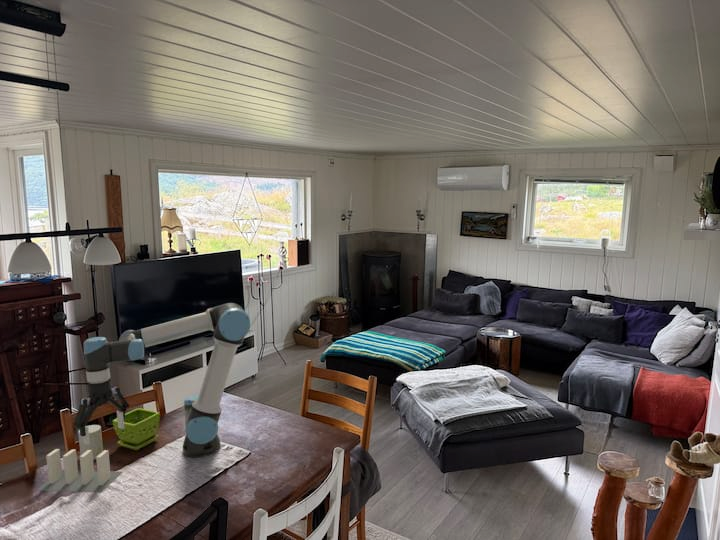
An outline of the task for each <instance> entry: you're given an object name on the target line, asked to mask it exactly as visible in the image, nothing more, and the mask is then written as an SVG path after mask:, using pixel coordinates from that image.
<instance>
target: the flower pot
mask: <svg viewBox="0 0 720 540" xmlns="http://www.w3.org/2000/svg"><path fill="white" fill-rule="evenodd" d="M160 419H161V414H160V412H158V411H156V410H155V411H154V410H151V409H146V408H141V407H140V408H139V407H138V408H135V409H133V410H131V411H129V412H126V413H125V419H124V429H121V428H118V420H117V417H116V418H115V419H113V420H112V425H113V429H114V432H115V434H116V435H117V437H118V438H119V439H120V440H118V441H117V444H118V445H120V446H121V447H124V448H127V449H131V450H134V451H139V450H140V449H141V448H144V447H146V446H147V445H149V444H151V443H153V442H154V441H156V440H157V439H158V438H159V435H158V434H157V432H158V429H159V427H160V421H161V420H160Z"/></svg>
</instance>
